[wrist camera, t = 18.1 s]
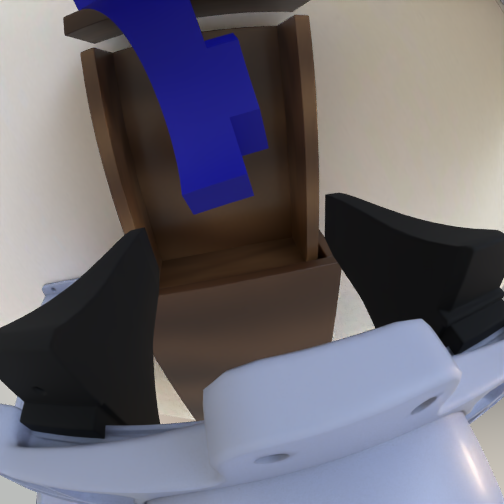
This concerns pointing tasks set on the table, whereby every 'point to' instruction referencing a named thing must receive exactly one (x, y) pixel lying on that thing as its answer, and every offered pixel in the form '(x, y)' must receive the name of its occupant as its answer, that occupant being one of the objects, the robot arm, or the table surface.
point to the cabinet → (243, 321)
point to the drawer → (257, 164)
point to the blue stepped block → (195, 96)
